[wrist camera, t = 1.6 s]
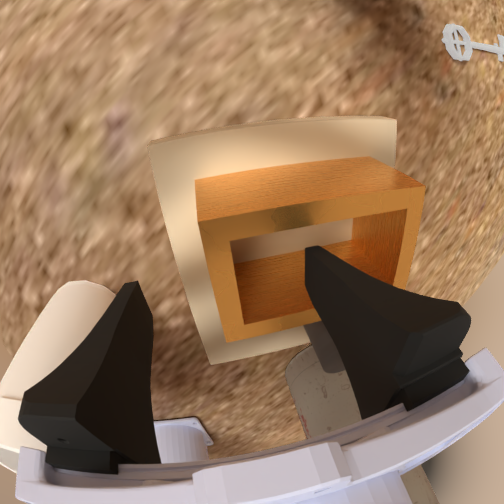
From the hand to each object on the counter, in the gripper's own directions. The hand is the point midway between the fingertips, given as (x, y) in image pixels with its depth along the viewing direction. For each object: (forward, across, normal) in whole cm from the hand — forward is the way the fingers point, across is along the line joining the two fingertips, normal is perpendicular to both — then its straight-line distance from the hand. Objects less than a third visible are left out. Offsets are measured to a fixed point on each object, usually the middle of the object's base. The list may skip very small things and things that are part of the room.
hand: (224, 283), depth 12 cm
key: (+7, -24, -13) cm, 28 cm away
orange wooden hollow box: (+5, -4, 0) cm, 6 cm away
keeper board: (+6, -4, +3) cm, 8 cm away
